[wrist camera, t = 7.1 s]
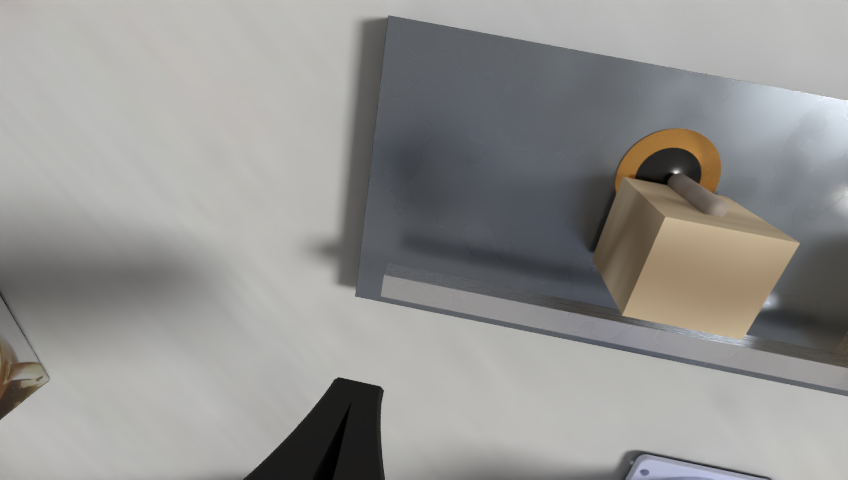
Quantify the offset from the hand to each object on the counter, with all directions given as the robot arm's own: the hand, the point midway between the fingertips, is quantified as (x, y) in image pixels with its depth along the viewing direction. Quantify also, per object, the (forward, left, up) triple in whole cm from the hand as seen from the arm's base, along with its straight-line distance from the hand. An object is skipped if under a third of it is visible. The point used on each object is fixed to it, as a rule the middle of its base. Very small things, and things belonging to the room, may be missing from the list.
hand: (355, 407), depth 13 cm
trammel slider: (+5, -10, -8) cm, 13 cm away
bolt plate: (+4, -12, -9) cm, 15 cm away
